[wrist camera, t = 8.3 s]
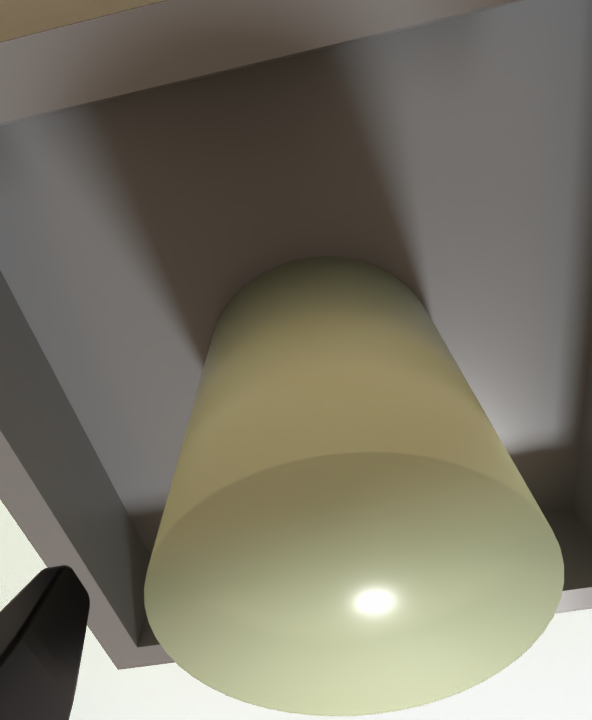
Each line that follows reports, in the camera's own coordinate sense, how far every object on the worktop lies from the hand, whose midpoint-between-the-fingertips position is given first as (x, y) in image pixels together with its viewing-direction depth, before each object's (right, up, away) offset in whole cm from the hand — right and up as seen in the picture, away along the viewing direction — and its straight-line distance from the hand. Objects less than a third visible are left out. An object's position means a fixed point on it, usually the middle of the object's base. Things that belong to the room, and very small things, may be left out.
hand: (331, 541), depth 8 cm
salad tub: (0, +3, +5) cm, 6 cm away
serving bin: (0, +3, +6) cm, 7 cm away
